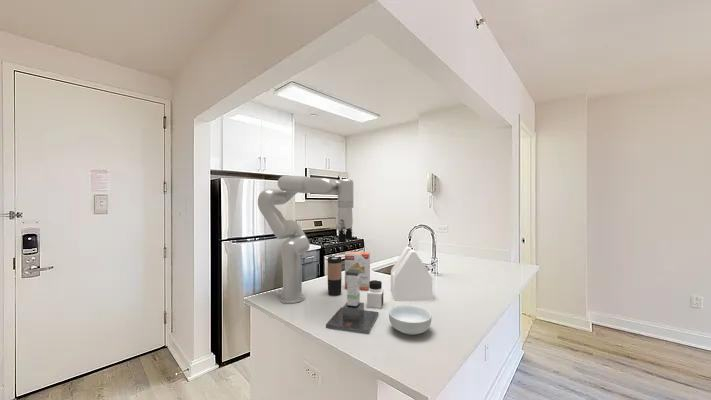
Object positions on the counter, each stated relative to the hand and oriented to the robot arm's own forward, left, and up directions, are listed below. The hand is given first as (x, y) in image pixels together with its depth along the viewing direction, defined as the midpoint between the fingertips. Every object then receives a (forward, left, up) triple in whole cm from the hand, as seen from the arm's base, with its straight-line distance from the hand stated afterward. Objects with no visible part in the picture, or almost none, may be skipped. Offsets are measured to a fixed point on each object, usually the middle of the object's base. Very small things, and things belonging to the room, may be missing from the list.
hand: (345, 240), depth 135 cm
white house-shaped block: (+28, +26, -33) cm, 50 cm away
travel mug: (-12, +16, -32) cm, 38 cm away
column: (+8, -13, -25) cm, 29 cm away
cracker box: (-2, +28, -32) cm, 43 cm away
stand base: (+8, -13, -32) cm, 36 cm away
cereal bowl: (+32, -14, -33) cm, 48 cm away
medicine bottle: (+13, +7, -32) cm, 36 cm away
